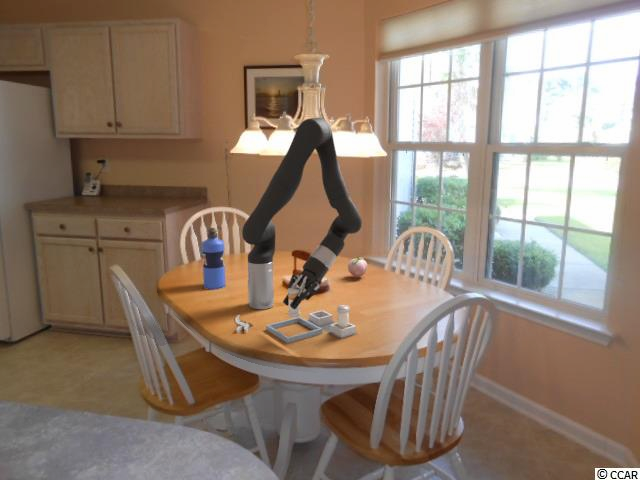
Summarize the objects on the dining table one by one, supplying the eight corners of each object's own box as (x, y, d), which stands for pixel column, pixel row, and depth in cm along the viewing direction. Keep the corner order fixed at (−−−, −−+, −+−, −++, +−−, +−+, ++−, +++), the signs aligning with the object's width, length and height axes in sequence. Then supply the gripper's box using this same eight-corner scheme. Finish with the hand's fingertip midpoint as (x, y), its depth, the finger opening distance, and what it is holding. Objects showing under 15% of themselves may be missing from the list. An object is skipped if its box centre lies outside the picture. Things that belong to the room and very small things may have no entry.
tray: (266, 332, 156) (266, 325, 156) (299, 323, 164) (299, 316, 163) (287, 346, 146) (287, 338, 146) (322, 336, 154) (322, 328, 153)
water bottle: (224, 282, 211) (222, 225, 206) (227, 288, 202) (224, 229, 197) (202, 284, 208) (199, 226, 203) (204, 290, 200) (201, 230, 194)
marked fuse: (286, 314, 154) (285, 288, 152) (295, 311, 156) (295, 286, 154) (292, 317, 151) (292, 291, 149) (302, 315, 153) (302, 289, 151)
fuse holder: (306, 323, 164) (306, 313, 164) (322, 318, 168) (322, 309, 168) (341, 341, 149) (341, 331, 148) (358, 336, 153) (358, 326, 153)
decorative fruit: (352, 274, 224) (352, 253, 222) (369, 276, 220) (369, 255, 218) (344, 279, 215) (344, 257, 213) (361, 281, 212) (362, 259, 210)
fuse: (334, 332, 154) (334, 306, 152) (343, 329, 156) (344, 304, 155) (342, 336, 151) (342, 310, 149) (351, 333, 153) (351, 307, 152)
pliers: (265, 313, 170) (256, 329, 155) (265, 317, 170) (256, 334, 156) (237, 312, 171) (225, 329, 156) (237, 316, 171) (226, 333, 156)
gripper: (300, 251, 160) (269, 293, 155) (326, 260, 149) (293, 305, 144) (313, 264, 164) (284, 306, 159) (339, 273, 153) (308, 318, 148)
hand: (288, 305), depth 152 cm, fingers closed on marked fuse, 3 cm apart
